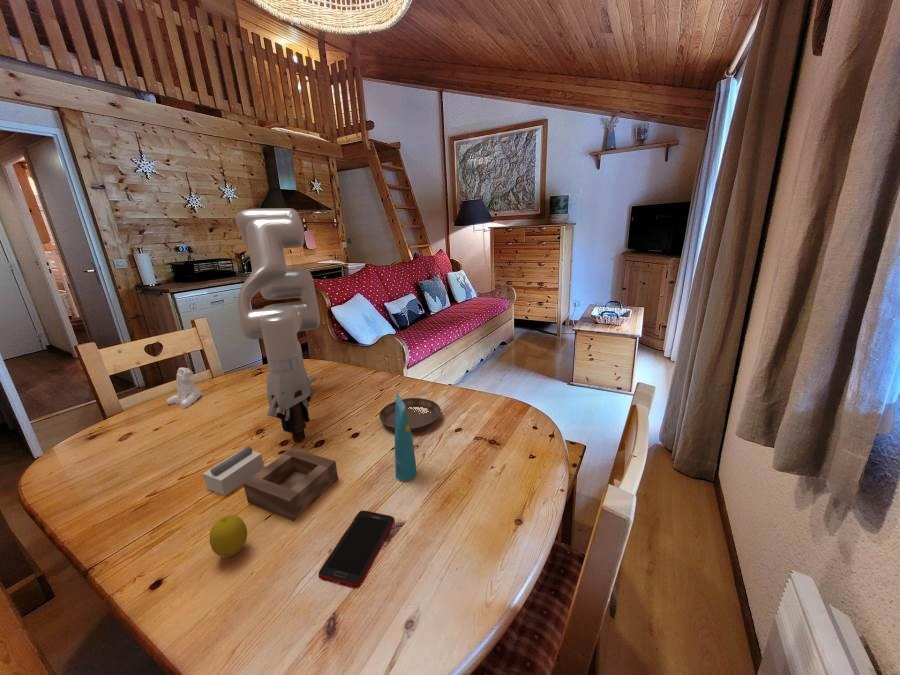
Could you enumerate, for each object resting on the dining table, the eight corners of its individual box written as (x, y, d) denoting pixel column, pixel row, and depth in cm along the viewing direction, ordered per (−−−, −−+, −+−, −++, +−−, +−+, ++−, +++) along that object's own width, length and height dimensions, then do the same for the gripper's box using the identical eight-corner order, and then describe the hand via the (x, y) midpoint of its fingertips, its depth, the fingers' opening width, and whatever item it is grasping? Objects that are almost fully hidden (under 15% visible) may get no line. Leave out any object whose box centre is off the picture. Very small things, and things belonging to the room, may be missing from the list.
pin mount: (247, 461, 90) (242, 442, 88) (264, 467, 87) (259, 447, 85) (207, 488, 81) (200, 467, 79) (225, 495, 79) (219, 474, 77)
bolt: (314, 434, 100) (305, 385, 95) (305, 445, 95) (296, 394, 91) (293, 434, 101) (284, 384, 96) (284, 444, 96) (274, 393, 91)
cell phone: (316, 579, 60) (315, 575, 60) (360, 513, 73) (360, 509, 73) (358, 591, 58) (357, 586, 58) (396, 520, 71) (395, 516, 71)
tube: (421, 480, 81) (416, 404, 75) (401, 487, 79) (394, 409, 73) (410, 461, 88) (404, 390, 82) (391, 468, 86) (384, 394, 80)
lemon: (225, 541, 67) (215, 507, 65) (256, 538, 68) (247, 504, 65) (209, 568, 62) (197, 532, 60) (242, 565, 62) (232, 529, 60)
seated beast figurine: (165, 404, 120) (154, 371, 116) (191, 393, 127) (182, 361, 123) (184, 409, 116) (173, 375, 112) (209, 397, 124) (201, 365, 120)
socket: (295, 465, 88) (292, 447, 86) (338, 479, 82) (335, 461, 81) (247, 502, 76) (242, 483, 75) (293, 521, 71) (289, 501, 70)
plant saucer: (377, 411, 112) (376, 402, 111) (433, 402, 116) (432, 393, 116) (383, 443, 96) (382, 433, 95) (448, 431, 100) (447, 421, 99)
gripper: (299, 349, 100) (309, 408, 105) (244, 373, 85) (259, 440, 91) (320, 353, 97) (330, 413, 102) (267, 378, 82) (281, 447, 88)
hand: (296, 425), depth 97 cm, fingers closed on bolt, 4 cm apart
